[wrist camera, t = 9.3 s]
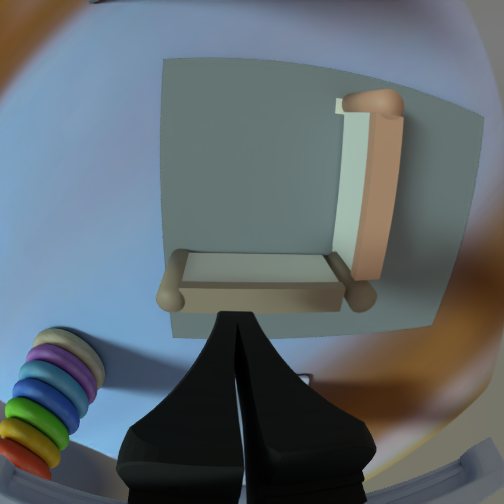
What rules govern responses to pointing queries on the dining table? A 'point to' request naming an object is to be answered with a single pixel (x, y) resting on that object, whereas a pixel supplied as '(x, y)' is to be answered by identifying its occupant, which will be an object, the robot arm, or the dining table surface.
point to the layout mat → (307, 183)
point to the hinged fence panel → (368, 179)
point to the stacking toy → (49, 400)
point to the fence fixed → (260, 284)
